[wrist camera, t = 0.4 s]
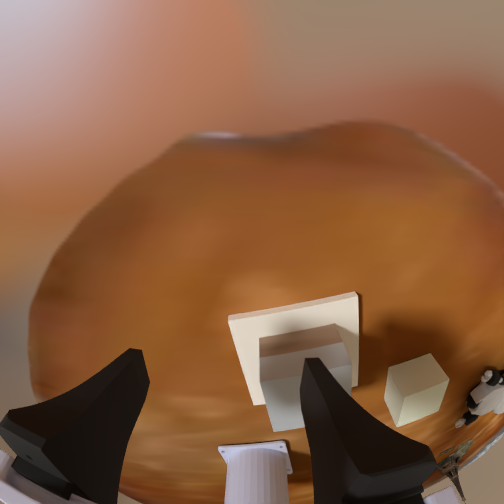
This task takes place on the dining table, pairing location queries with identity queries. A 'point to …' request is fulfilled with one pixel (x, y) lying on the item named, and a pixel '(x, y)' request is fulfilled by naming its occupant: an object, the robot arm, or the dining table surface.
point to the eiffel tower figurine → (454, 465)
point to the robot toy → (485, 398)
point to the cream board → (290, 320)
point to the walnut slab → (298, 340)
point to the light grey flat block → (298, 381)
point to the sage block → (415, 389)
